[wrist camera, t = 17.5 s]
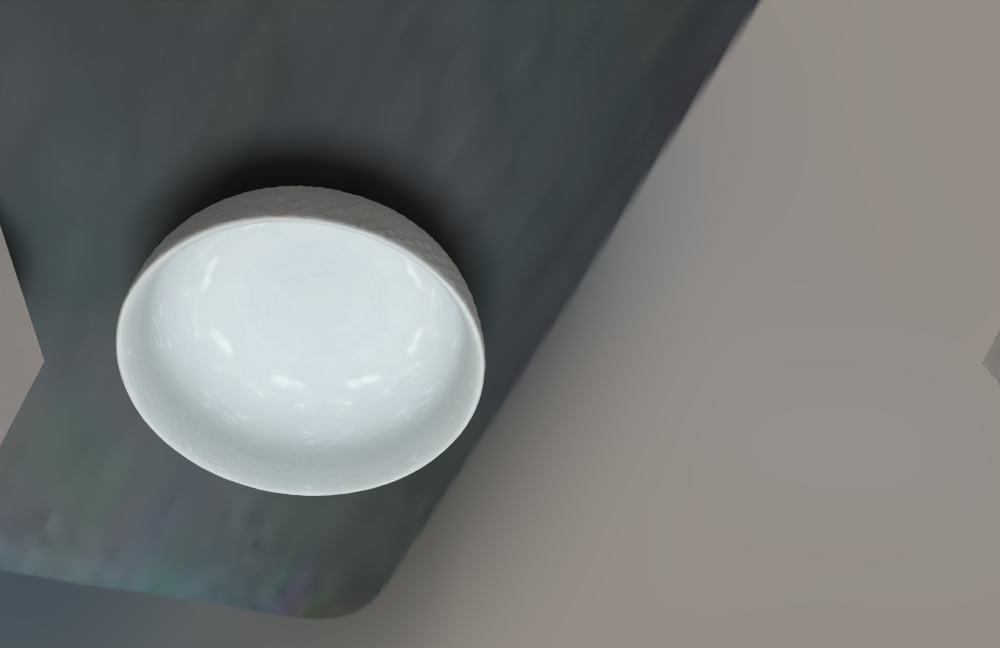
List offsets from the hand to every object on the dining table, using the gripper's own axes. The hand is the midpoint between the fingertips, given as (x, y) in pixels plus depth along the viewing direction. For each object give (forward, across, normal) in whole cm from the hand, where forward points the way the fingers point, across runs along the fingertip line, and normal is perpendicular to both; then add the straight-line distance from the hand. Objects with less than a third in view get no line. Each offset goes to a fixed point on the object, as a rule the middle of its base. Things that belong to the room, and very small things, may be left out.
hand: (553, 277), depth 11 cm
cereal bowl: (+29, -6, -20) cm, 36 cm away
